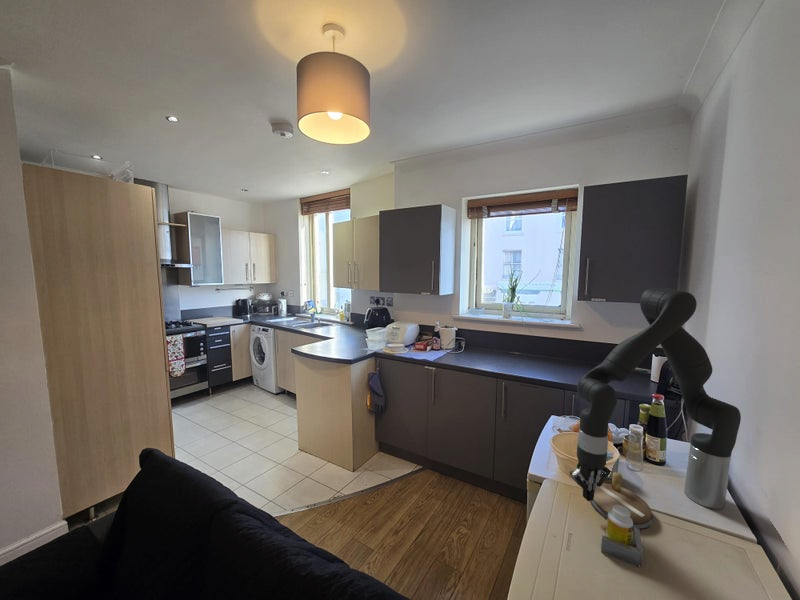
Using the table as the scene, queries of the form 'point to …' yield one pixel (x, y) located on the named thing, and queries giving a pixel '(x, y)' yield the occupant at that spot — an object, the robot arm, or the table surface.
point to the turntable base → (640, 527)
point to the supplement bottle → (619, 524)
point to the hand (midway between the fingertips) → (588, 498)
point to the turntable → (622, 500)
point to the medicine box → (615, 466)
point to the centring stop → (624, 549)
